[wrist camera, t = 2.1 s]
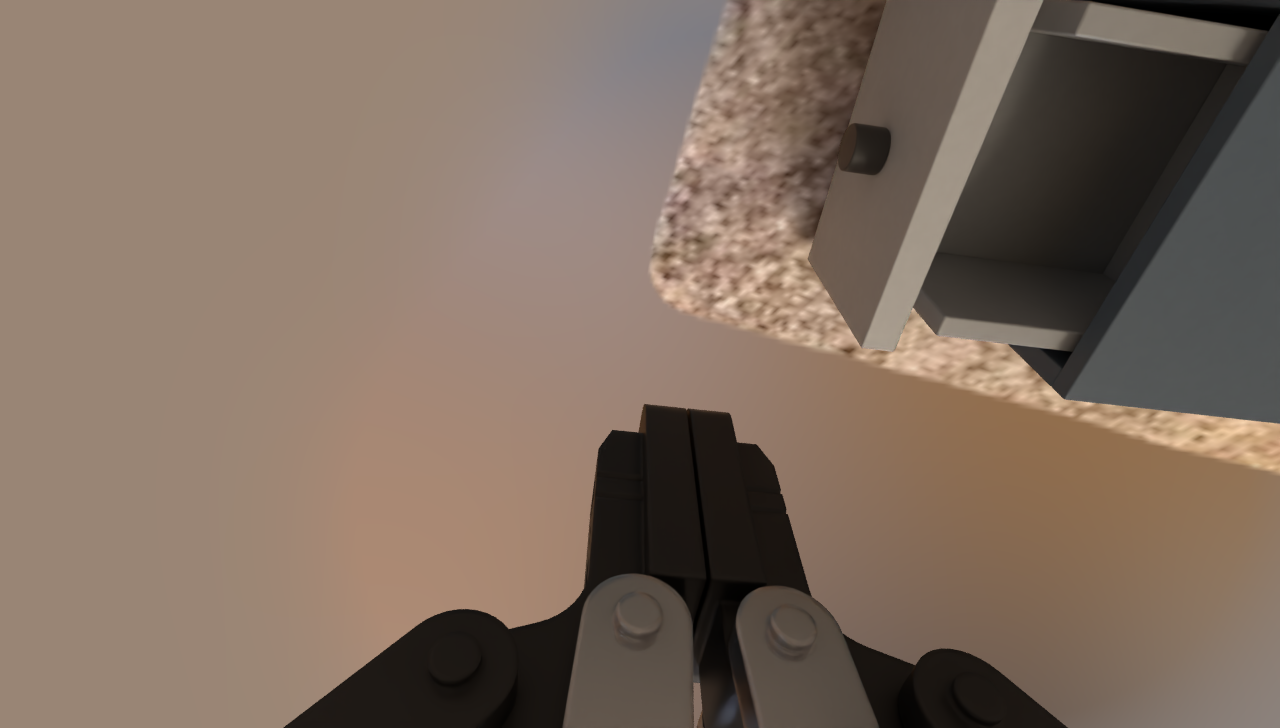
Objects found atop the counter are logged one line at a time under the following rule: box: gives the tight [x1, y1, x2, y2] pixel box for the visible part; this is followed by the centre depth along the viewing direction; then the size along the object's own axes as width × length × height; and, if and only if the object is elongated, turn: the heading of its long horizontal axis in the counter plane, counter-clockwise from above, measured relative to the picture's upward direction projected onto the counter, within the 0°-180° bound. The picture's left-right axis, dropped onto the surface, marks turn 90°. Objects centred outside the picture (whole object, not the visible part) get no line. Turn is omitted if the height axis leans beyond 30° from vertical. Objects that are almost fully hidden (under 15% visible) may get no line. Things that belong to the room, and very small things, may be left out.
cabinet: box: [1008, 0, 1280, 424], centre depth 22 cm, size 15×13×10 cm
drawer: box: [808, 0, 1269, 352], centre depth 22 cm, size 15×11×8 cm
